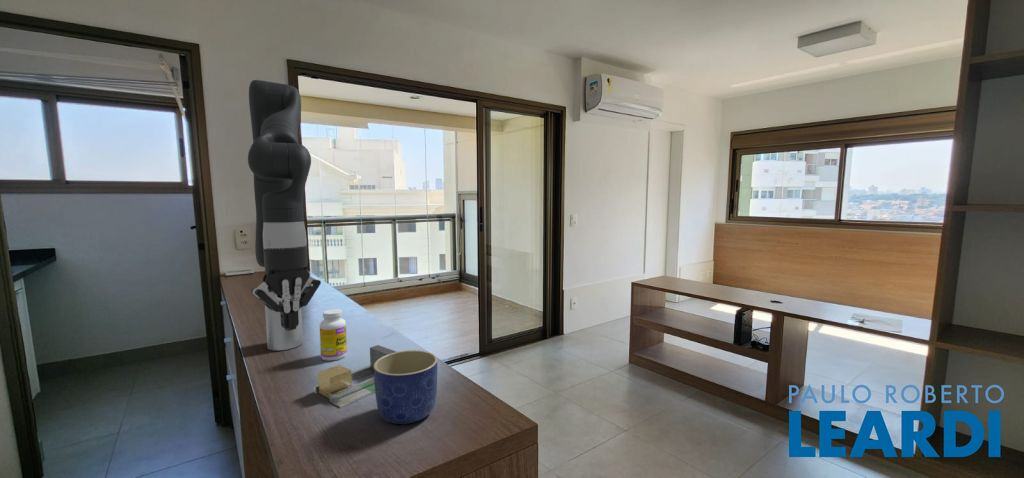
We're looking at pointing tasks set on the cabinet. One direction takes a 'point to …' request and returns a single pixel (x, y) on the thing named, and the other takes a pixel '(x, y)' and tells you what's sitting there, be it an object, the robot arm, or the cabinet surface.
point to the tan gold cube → (334, 380)
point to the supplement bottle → (333, 335)
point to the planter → (405, 385)
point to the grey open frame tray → (363, 387)
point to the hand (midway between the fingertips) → (290, 329)
